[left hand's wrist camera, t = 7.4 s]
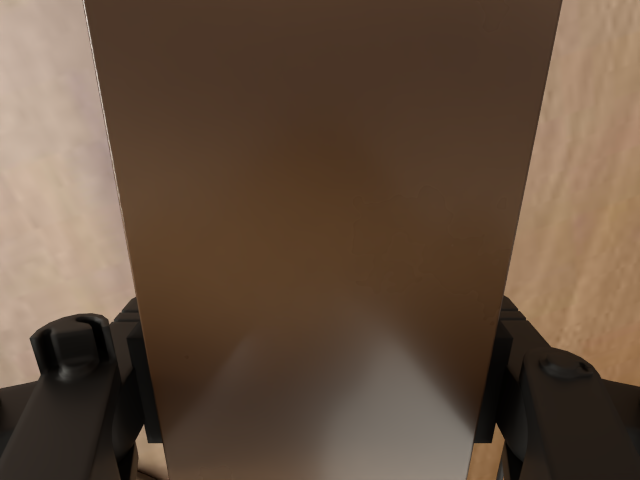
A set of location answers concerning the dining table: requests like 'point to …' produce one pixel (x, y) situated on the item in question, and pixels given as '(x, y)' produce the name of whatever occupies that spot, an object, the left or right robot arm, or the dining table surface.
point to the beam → (320, 221)
